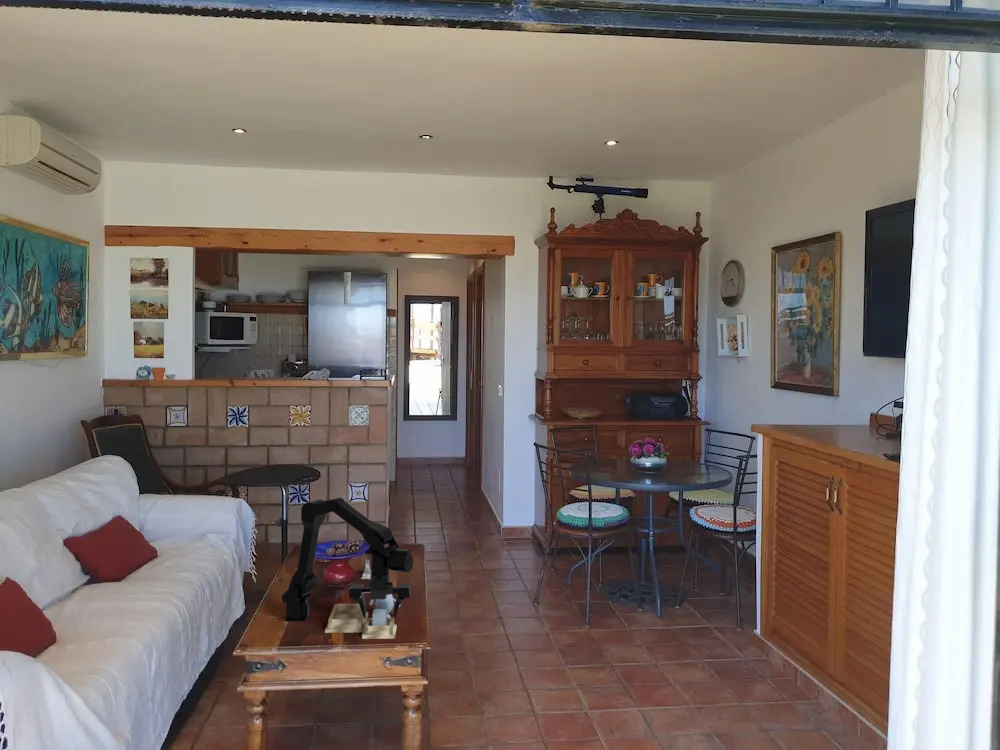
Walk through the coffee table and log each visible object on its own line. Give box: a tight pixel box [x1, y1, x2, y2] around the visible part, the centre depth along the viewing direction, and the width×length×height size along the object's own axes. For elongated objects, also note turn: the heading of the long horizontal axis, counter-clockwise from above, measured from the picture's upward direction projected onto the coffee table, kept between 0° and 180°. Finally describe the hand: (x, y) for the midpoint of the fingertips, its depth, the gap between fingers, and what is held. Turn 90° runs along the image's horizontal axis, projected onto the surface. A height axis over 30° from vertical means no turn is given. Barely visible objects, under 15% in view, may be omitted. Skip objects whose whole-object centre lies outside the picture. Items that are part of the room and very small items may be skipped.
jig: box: [324, 603, 398, 640], centre depth 242 cm, size 22×21×4 cm
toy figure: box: [368, 594, 401, 618], centre depth 250 cm, size 11×6×12 cm, turn 81°
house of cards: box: [360, 559, 371, 580], centre depth 292 cm, size 9×9×8 cm
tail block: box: [372, 608, 387, 626], centre depth 236 cm, size 4×4×6 cm
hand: (379, 618), depth 236 cm, fingers open, 9 cm apart
